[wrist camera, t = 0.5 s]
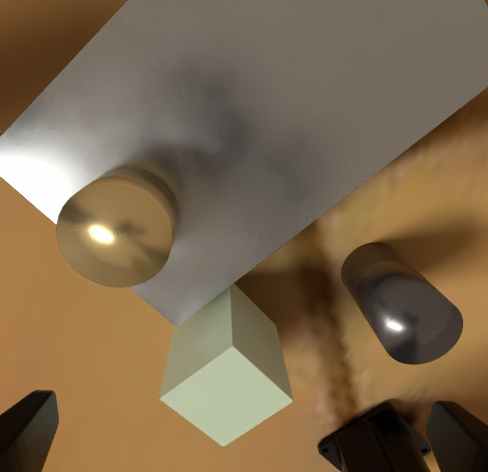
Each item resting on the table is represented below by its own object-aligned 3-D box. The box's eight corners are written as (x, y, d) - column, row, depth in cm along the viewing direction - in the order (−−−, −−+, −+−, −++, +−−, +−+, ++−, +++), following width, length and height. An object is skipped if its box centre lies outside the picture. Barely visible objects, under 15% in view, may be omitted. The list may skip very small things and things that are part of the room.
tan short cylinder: (199, 218, 17) (194, 243, 14) (134, 272, 18) (118, 305, 15) (130, 146, 15) (110, 158, 13) (63, 209, 16) (31, 234, 14)
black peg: (410, 272, 22) (476, 334, 16) (361, 305, 22) (408, 376, 17) (380, 230, 20) (439, 283, 15) (329, 268, 21) (368, 331, 16)
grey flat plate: (477, 68, 17) (514, 65, 15) (180, 302, 21) (176, 327, 19) (342, -199, 13) (366, -257, 11) (10, 149, 17) (-20, 158, 15)
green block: (275, 324, 23) (293, 401, 17) (222, 362, 23) (223, 447, 18) (229, 278, 21) (232, 345, 16) (174, 321, 22) (159, 398, 16)
